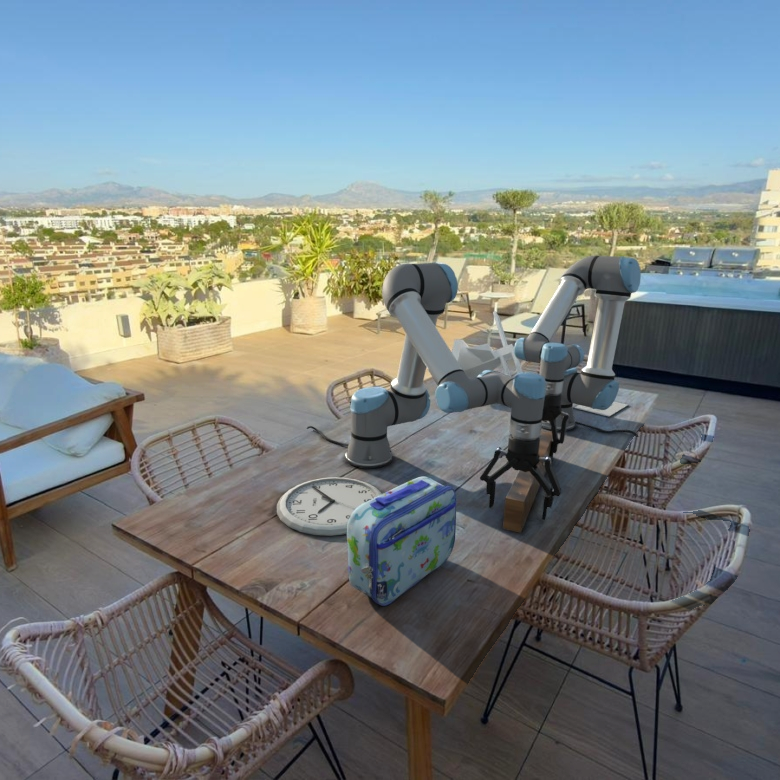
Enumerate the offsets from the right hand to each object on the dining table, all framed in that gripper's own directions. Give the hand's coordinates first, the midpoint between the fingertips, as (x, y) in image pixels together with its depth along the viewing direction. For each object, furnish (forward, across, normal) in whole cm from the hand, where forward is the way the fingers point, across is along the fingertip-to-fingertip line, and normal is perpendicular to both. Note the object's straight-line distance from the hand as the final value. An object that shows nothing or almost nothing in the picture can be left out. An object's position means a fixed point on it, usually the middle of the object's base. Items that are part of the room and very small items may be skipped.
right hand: (542, 459), depth 172 cm
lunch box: (+1, -17, -75) cm, 77 cm away
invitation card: (+1, +14, +68) cm, 70 cm away
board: (+1, 0, -20) cm, 21 cm away
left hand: (-2, 0, -41) cm, 41 cm away
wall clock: (+1, -47, -55) cm, 73 cm away
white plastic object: (+1, -39, +64) cm, 75 cm away
